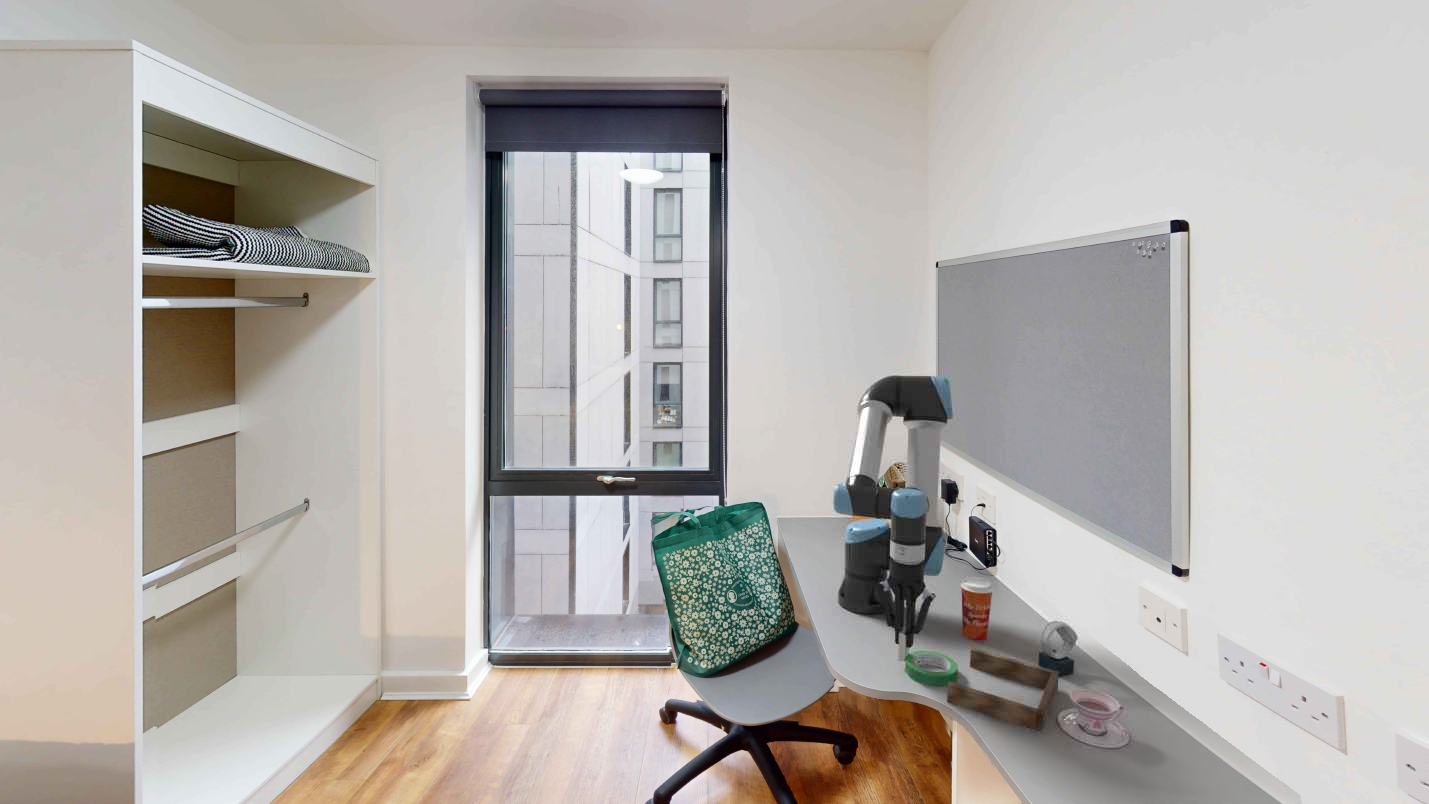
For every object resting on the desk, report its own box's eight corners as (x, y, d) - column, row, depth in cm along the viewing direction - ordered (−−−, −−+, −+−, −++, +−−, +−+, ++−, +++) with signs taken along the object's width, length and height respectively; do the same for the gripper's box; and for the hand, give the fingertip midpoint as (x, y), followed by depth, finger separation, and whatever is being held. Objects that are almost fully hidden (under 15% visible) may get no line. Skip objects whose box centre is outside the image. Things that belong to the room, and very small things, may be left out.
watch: (1080, 672, 144) (1083, 625, 142) (1052, 679, 141) (1055, 631, 140) (1058, 660, 149) (1061, 614, 148) (1032, 666, 146) (1034, 620, 145)
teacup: (1066, 743, 119) (1068, 712, 119) (1050, 707, 131) (1052, 678, 130) (1139, 754, 116) (1142, 722, 116) (1116, 715, 128) (1118, 686, 127)
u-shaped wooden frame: (947, 701, 133) (947, 683, 132) (971, 664, 147) (972, 647, 147) (1041, 733, 122) (1042, 713, 122) (1057, 689, 137) (1058, 671, 136)
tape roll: (933, 656, 151) (934, 646, 151) (968, 680, 141) (969, 669, 140) (895, 666, 147) (895, 655, 146) (928, 691, 137) (928, 679, 136)
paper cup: (960, 640, 158) (962, 586, 156) (956, 626, 166) (958, 574, 164) (994, 644, 156) (997, 589, 155) (989, 630, 164) (991, 577, 162)
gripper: (872, 557, 145) (870, 656, 148) (930, 570, 137) (926, 674, 140) (885, 548, 151) (883, 643, 154) (941, 560, 143) (937, 660, 146)
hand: (903, 658), depth 147 cm, fingers closed
